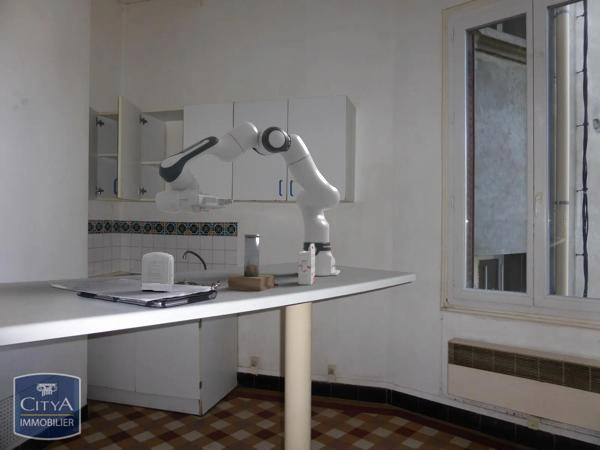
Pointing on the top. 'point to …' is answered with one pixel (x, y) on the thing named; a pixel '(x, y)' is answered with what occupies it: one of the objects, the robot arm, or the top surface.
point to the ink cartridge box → (307, 266)
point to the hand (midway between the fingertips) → (225, 200)
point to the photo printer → (157, 268)
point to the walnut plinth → (251, 282)
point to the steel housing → (251, 255)
